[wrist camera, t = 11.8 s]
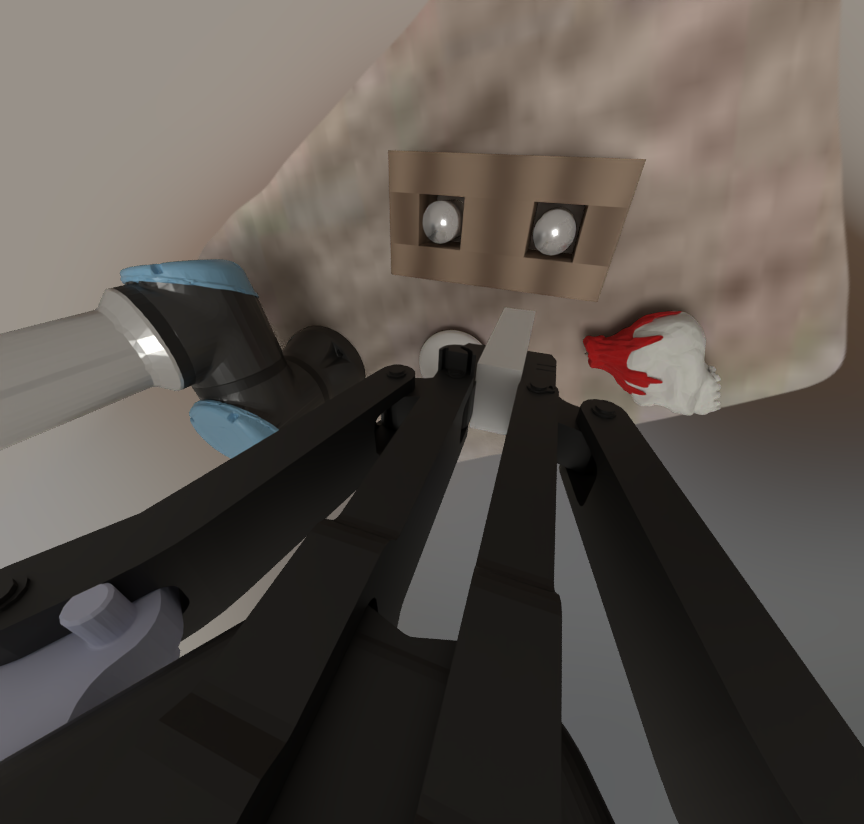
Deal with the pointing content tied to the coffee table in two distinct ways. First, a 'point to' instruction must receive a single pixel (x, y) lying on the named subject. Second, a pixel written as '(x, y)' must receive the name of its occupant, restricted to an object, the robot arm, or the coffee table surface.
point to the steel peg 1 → (443, 220)
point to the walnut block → (509, 218)
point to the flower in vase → (434, 343)
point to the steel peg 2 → (554, 231)
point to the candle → (660, 362)
